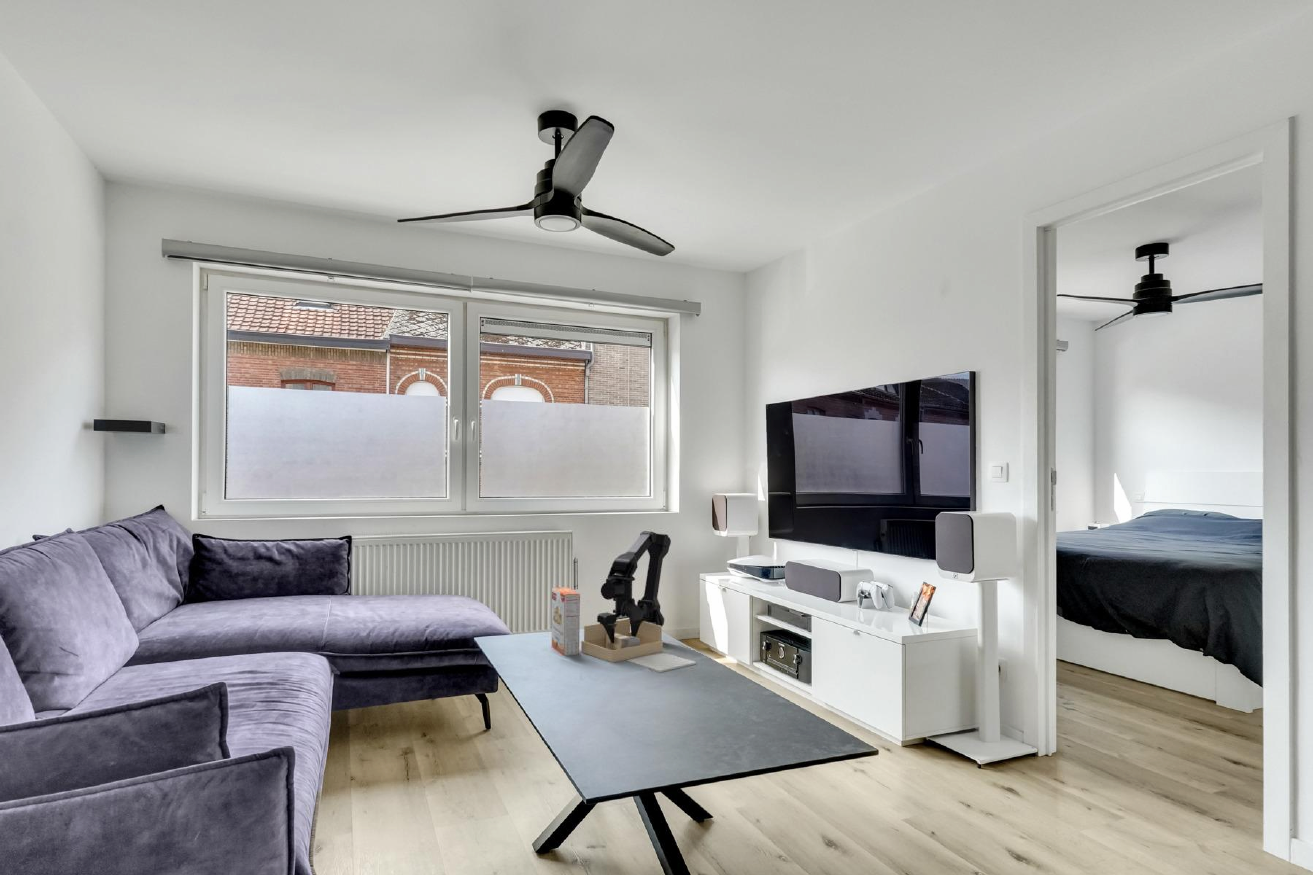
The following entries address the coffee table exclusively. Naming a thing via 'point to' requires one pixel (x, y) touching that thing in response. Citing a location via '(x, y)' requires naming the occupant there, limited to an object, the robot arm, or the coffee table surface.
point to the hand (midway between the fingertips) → (623, 641)
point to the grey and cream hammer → (621, 642)
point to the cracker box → (565, 620)
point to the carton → (646, 633)
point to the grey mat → (662, 662)
